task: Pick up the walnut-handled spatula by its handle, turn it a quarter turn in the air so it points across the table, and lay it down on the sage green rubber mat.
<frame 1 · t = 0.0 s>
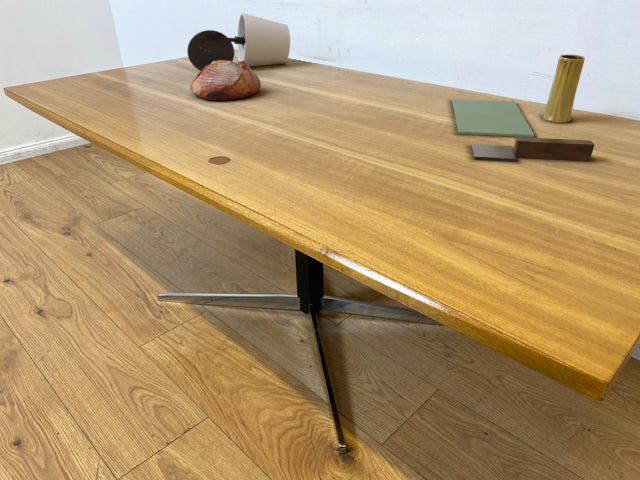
bread: (226, 94, 138), on the table
vase: (556, 119, 116), on the table
mat: (488, 117, 118), on the table
light fixture: (241, 68, 167), on the table
spatula: (587, 158, 95), on the table
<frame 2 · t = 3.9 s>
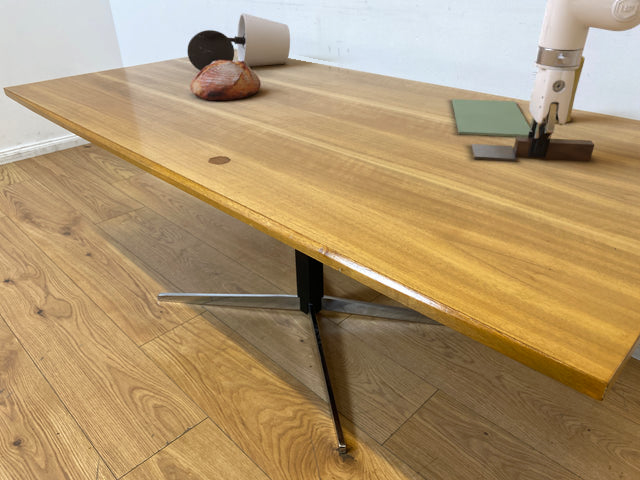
hand: (535, 153, 96), 1 cm above the table, tool pointing down, fingers closed on spatula, 2 cm apart
spatula: (587, 158, 95), on the table, touching gripper
everything else where it was.
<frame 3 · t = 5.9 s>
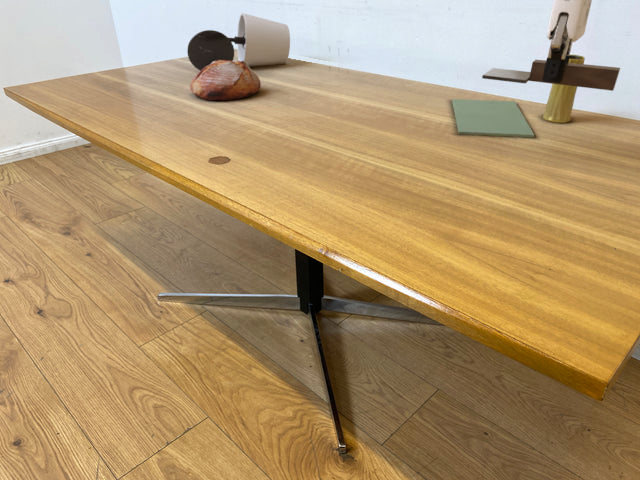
hand: (553, 78, 89), 15 cm above the table, tool pointing down, fingers closed on spatula, 2 cm apart
spatula: (613, 89, 84), point 15 cm above the table, touching gripper
everything else where it was.
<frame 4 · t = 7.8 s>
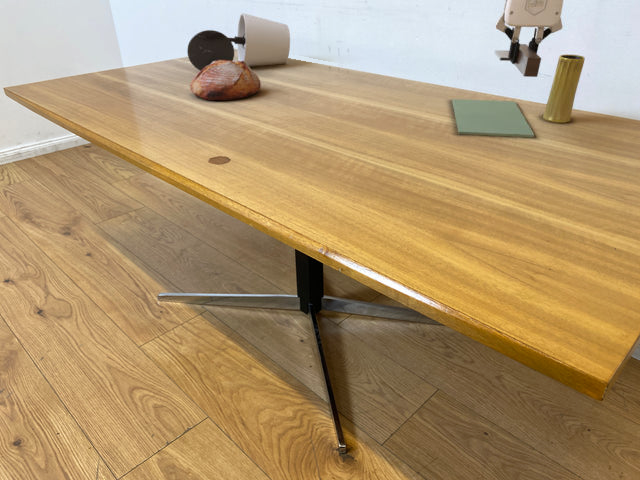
hand: (520, 61, 100), 15 cm above the table, tool pointing down, fingers closed on spatula, 2 cm apart
spatula: (530, 76, 91), point 15 cm above the table, touching gripper
everything else where it was.
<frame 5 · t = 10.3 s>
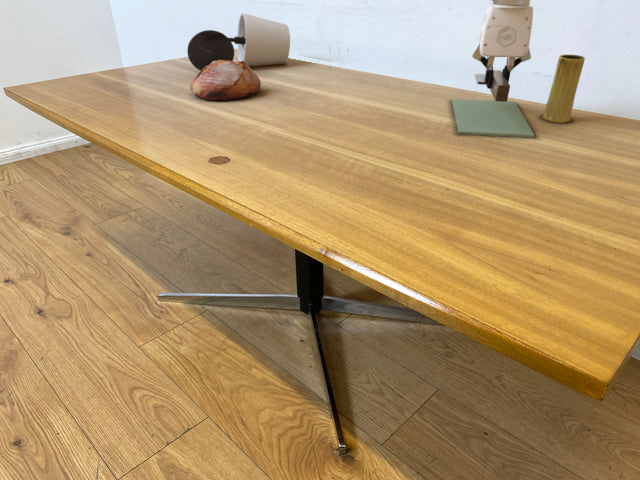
hand: (495, 86, 112), 8 cm above the table, tool pointing down, fingers closed on spatula, 2 cm apart
spatula: (501, 101, 104), point 7 cm above the table, touching gripper
everything else where it was.
when the fingers open (1 cm above the table, at t = 12.0 s): spatula stays where it is, resting on mat.
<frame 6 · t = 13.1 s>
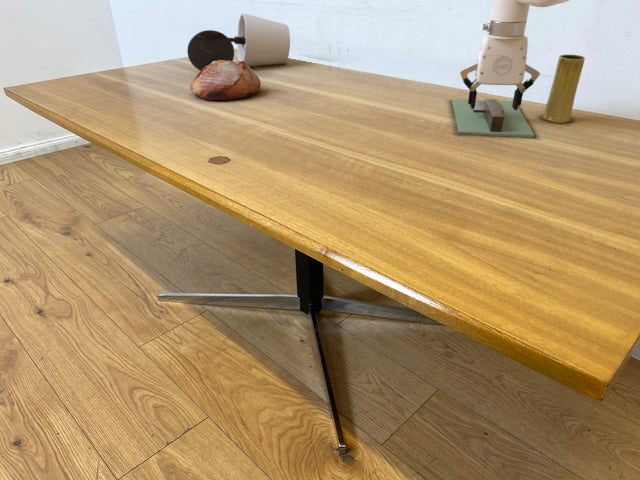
hand: (493, 107, 114), 3 cm above the table, tool pointing down, fingers open, 9 cm apart
spatula: (495, 131, 107), point 1 cm above the table, touching mat
everything else where it was.
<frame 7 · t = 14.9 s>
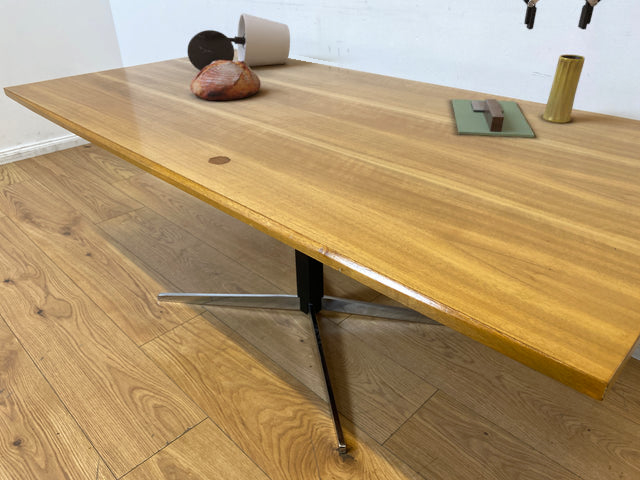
hand: (555, 28, 95), 22 cm above the table, tool pointing down, fingers open, 9 cm apart
nothing on the table moved.
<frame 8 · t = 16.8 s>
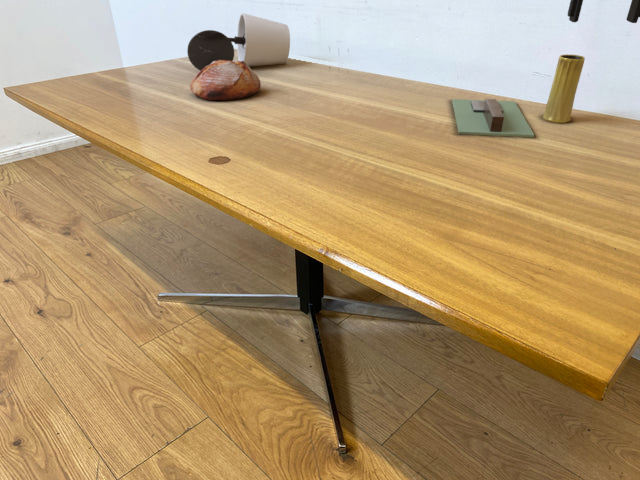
hand: (601, 21, 86), 24 cm above the table, tool pointing down, fingers open, 9 cm apart
nothing on the table moved.
at the end: spatula 0.1 cm from the target spot on the mat, point 0.6 cm above the mat's base; spatula tilted 0°; the gripper is holding nothing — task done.
